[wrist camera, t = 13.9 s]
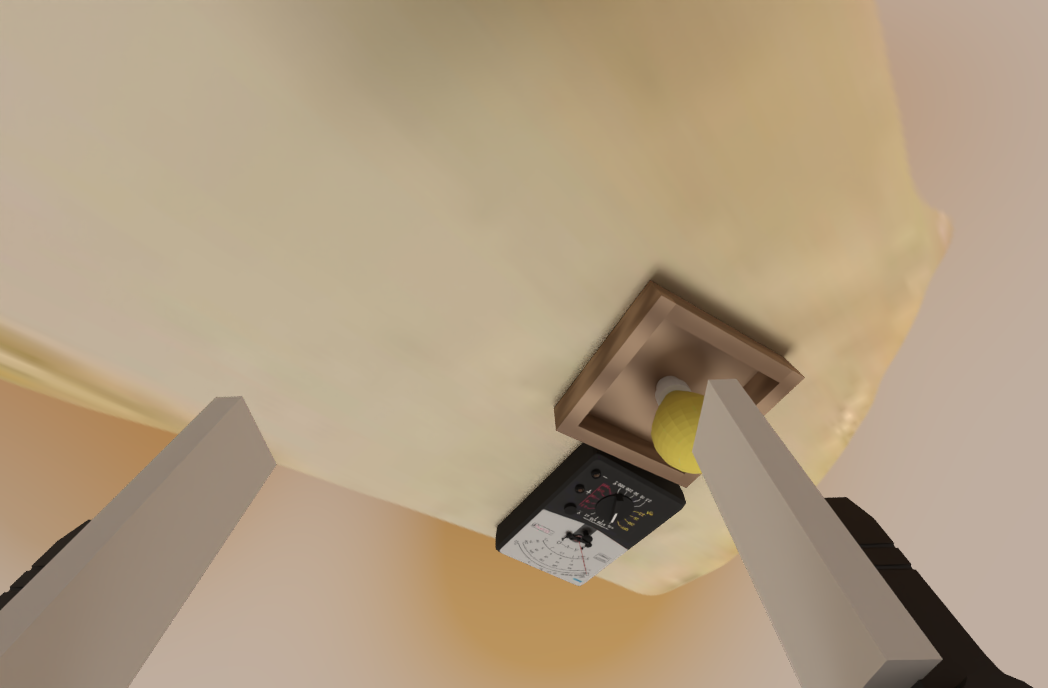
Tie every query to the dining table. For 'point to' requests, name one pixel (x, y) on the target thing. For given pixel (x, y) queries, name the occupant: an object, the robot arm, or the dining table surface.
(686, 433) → the light bulb
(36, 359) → the dining table surface
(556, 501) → the multimeter
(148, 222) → the dining table surface
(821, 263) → the dining table surface
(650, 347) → the tray
